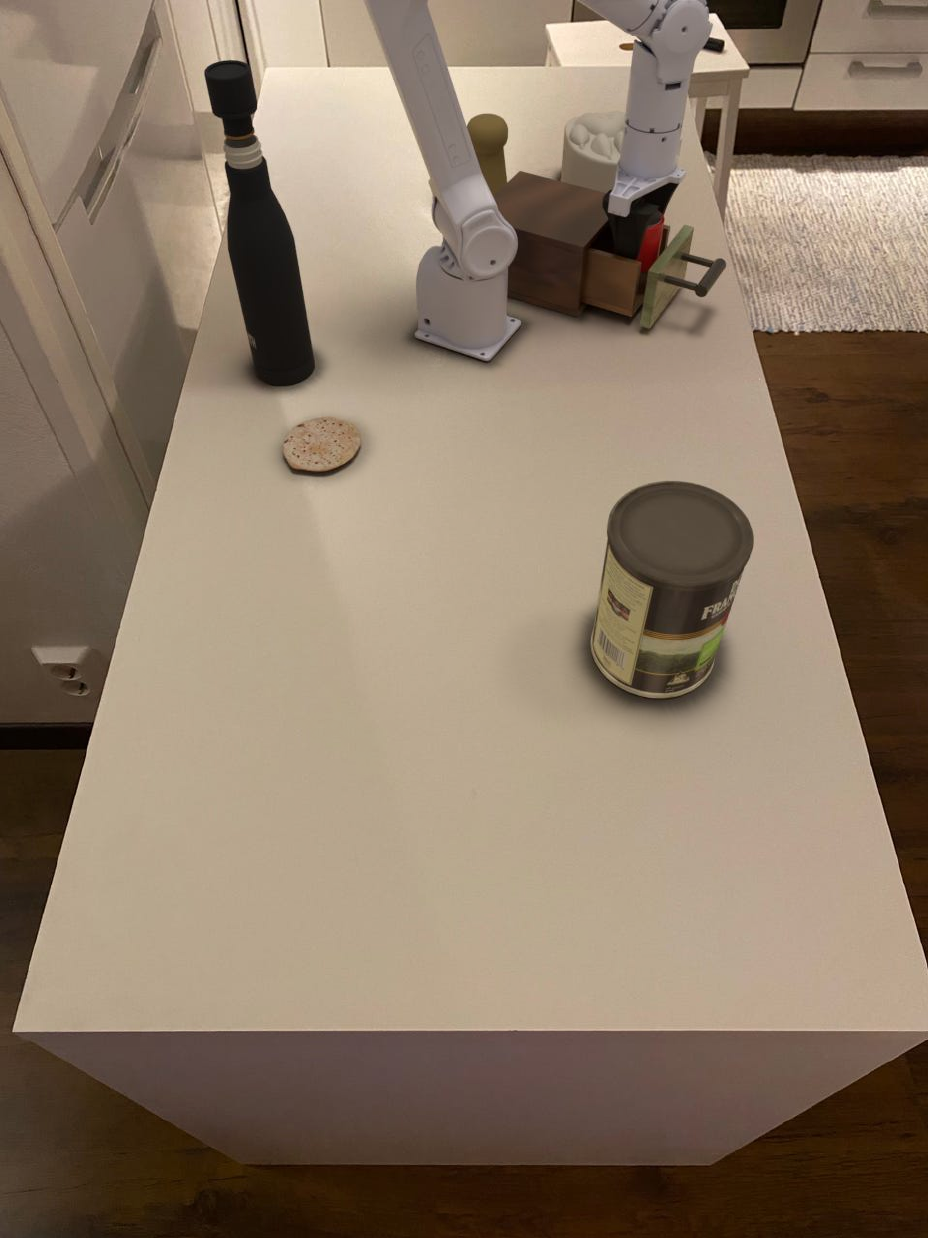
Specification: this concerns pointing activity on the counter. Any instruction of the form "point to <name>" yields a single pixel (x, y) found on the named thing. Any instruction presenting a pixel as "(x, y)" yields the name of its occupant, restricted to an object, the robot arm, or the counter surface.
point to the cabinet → (550, 239)
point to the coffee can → (668, 586)
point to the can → (651, 242)
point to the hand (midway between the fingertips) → (635, 247)
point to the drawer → (643, 276)
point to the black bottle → (259, 237)
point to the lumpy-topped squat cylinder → (592, 150)
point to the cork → (490, 148)
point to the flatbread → (321, 444)
